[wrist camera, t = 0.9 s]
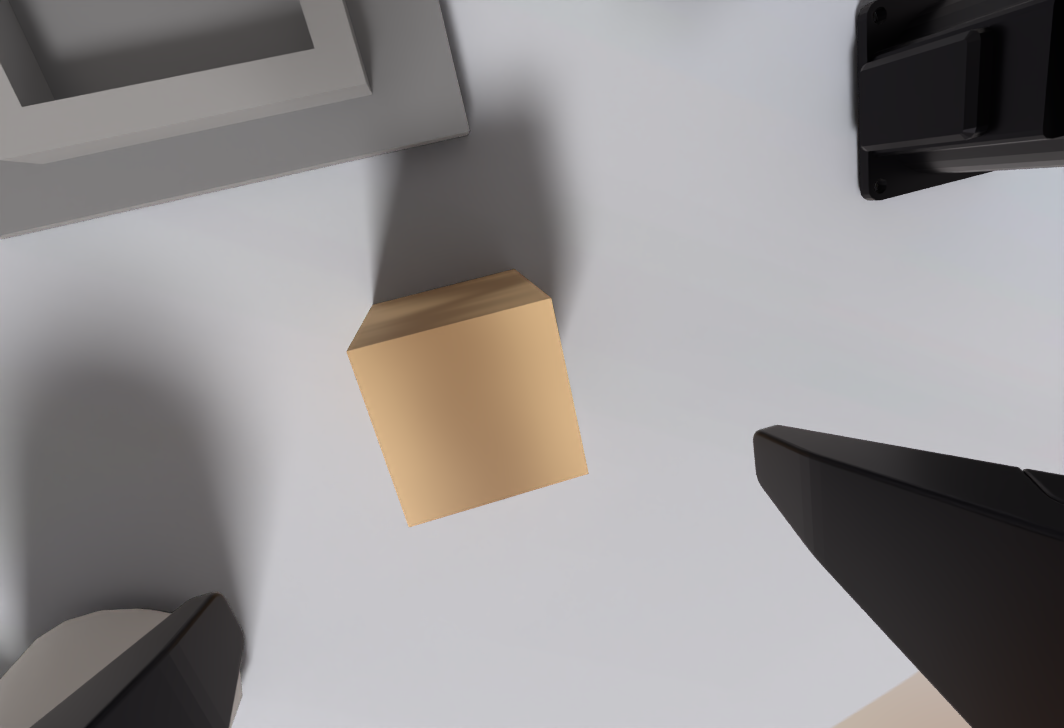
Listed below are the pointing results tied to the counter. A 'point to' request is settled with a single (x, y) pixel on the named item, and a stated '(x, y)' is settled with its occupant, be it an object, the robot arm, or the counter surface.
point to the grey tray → (207, 97)
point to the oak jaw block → (468, 394)
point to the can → (72, 662)
